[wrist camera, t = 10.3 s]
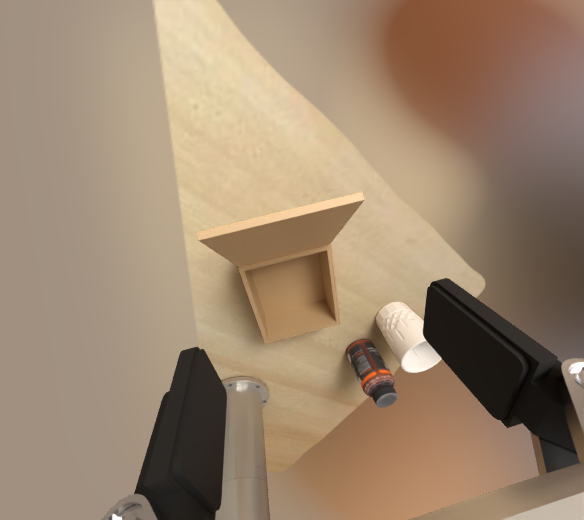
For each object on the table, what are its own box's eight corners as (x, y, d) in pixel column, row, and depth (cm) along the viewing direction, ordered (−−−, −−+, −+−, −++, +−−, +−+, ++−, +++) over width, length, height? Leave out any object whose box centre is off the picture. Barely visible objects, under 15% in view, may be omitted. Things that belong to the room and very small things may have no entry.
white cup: (414, 296, 46) (453, 335, 38) (405, 327, 50) (439, 368, 41) (375, 301, 45) (407, 342, 37) (369, 332, 49) (396, 376, 40)
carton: (328, 299, 43) (340, 323, 38) (261, 317, 42) (264, 344, 37) (318, 227, 36) (331, 244, 31) (238, 247, 35) (237, 268, 30)
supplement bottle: (341, 357, 51) (364, 411, 41) (352, 336, 49) (380, 389, 39) (365, 358, 53) (393, 411, 43) (377, 338, 50) (409, 390, 41)
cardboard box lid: (364, 199, 17) (362, 192, 17) (198, 240, 16) (196, 231, 16) (330, 243, 30) (328, 239, 31) (238, 266, 30) (237, 262, 30)
